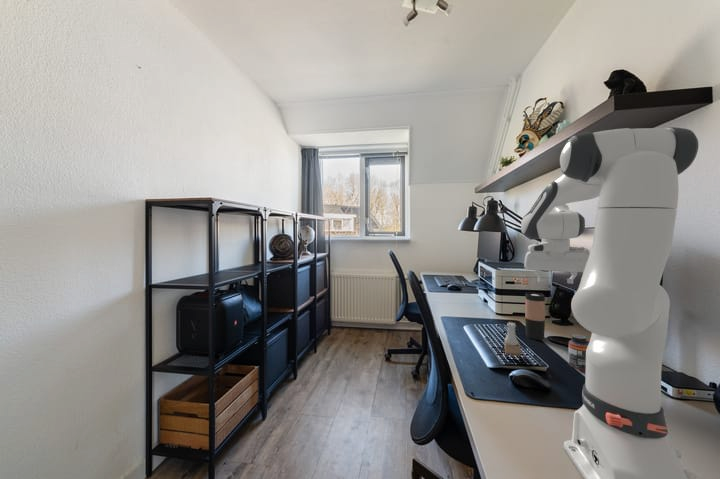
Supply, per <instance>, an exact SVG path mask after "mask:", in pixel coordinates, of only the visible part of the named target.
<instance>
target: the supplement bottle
mask: <svg viewBox="0 0 720 479" xmlns="http://www.w3.org/2000/svg"><path fill="white" fill-rule="evenodd" d="M588 344H589V342H587V337H586V336H584V335H582V334H577V333H576V334H572V335H571V339H570V340H569V341H568V365H569V366H570V367H571V368H573V369H576V370H578V371H582V372H586V349H587V346H588Z"/></svg>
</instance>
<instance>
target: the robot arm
mask: <svg viewBox="0 0 720 479" xmlns="http://www.w3.org/2000/svg"><path fill="white" fill-rule="evenodd" d="M698 151H699V139H698V137H697V136H696V134H695V133H694V131H692V130H691V129H688V128H684V127H683V128H682V127H671V126H670V127H669V126H667V127H663V128H659V127H657V128H656V127H655V128H654V127H651V128H649V127H648V128H646V127H645V128H629V127H626V128H615V129H608V130H601V131H595V132H592V131H587V132H583V133H578V134H575V135H573V136H571V137H570V138H569V139H568V140H567V141H566V143H565V145H564V146H563V148H562V150H561V153H560V156H559V166H560V169H561V173H562V175H561V176H559V177H558V178H557V179H556V180H554V181H552V182H550V183H548V184H547V185H546V186H545V188H544V189H543V190H542V191H541V193H540V195H539V196H538V197H537V199H536V200H535V202H534V204H533V205H532V206H531V208H530V209H529V211H528V212H527V213H526V214H525V215H524V216H523V217H522V219H521V222H520V230H521V233H522V235H523V236H524V237H526V238H527V239H529V240H541V242H537V243H534V244H530V245H528V247H527V250H528V251H527V252H526V253H525V256H524V264H523V267H524V268H525V270H528V271H534V274H535V275H536V277H537V282H538V283H543V282H544V277H542V276H541V275H540V271H543V272H544V271H545V272H546V271H548V272H550V271H551V272H570V274H571V276H570V277H569V278H566V280H567V281H566V283H567V284H572V285H573V284H574V280H575V278H576V277H577V276H578V273H582V276H581V278H580V283H579V285H578V288H577V290H576V291H575V293H574V295H573V297H572V298H571V303H570V305H571V306H570V307H571V308H570V309H571V313H572V315H573V317H574V319H575V320H576V322H578V323H579V325H580V326H582V328H584V329H585V330H587V331H589V332H591V335H590V340H589V342H588V346H587V349H586V371H585V383H584V384H583V385H582V391H581V395H582V403H583V404H582V406H581V407H579V408H578V409H576V410H575V411H574V413H573V421H572V422H573V423H572V434H571V435H572V436H571V439H569V440H568V439H567V440H565V441H564V442H563V449H564V450H565V452H566V453H567V455H568V457H569V458H570V460H571V461H572V462H573V464H574V465H575V467H576V468H577V470H578V472H579V473H580V474H581V476H582V477H583V479H699V478H698V476H697V474H696V473H695V472H694V471H690V470H688V469H684V467H683V465H682V463H681V460H680V459H682V453H681V451H680V449H677V448H675V447H674V445H673V443H672V441H671V438H670V436H669V435H668V434H669V431H668V426H667V424H668V423H667V418H666V415H665V412H664V408H663V406H662V403H661V402H662V400H661V399H662V398H661V397H662V396H661V395H662V394H661V393H662V365H663V360H664V356H665V348H666V342H667V341H666V340H667V335H668V328H669V327H668V326H669V316H670V307H671V300H670V296H669V293H668V292H667V291H666V289H665V288H664V287H663V286H662V285H661V280H662V276H663V273H664V270H665V267H666V264H667V262H668V259H669V256H670V254H671V252H672V245H673V239H674V231H675V225H676V218H677V213H678V205H679V204H678V202H679V175H681V174H683V172H685V171H686V170H687V169H689V168H690V167H691V166H692V164H693V162H694V160H695V159H696V157H697V154H698ZM596 198H598V201H597V207H596V216H595V223H594V232H593V237H592V238H593V239H592V245H591V249H590V250H589V249H588V248H585V247H584V246H579V247H578V246H571V239H575V238H579V237H580V236H581V235H583V233H584V232H585V228H586V221H585V220H586V219H585V217H584V216H583V215H582V214H581V213H579V212H578V211H572V210H570V207H569V204H571V203H577V202H582V201H589V200H592V199H593V200H594V199H596Z"/></svg>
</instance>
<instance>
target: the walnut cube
mask: <svg viewBox="0 0 720 479" xmlns="http://www.w3.org/2000/svg"><path fill="white" fill-rule="evenodd" d="M503 341H504V343H503V344H504V349H505V354H511V355H516V356H521V357H522V355H521V354H522V350H521V348H522V347H521V345H520V344H521V343H520V342H519V341H518V342H517V343H518V344H517V345H516V346H512V345H508V344H506V343H505V341H506V340H505V339H504V340H503Z"/></svg>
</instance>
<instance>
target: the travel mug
mask: <svg viewBox="0 0 720 479" xmlns="http://www.w3.org/2000/svg"><path fill="white" fill-rule="evenodd" d="M524 311H525V313H524V315H525V316H524V318H525V320H524V321H525V322H524V323H525V336H526V337H527V338H528V337H530V338H529V339H531V338H532V339H531V340H537V341H542V340H544V339H545V327H546V295H544V294H543V293H538V292H532V291H531V292H525V309H524Z"/></svg>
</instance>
